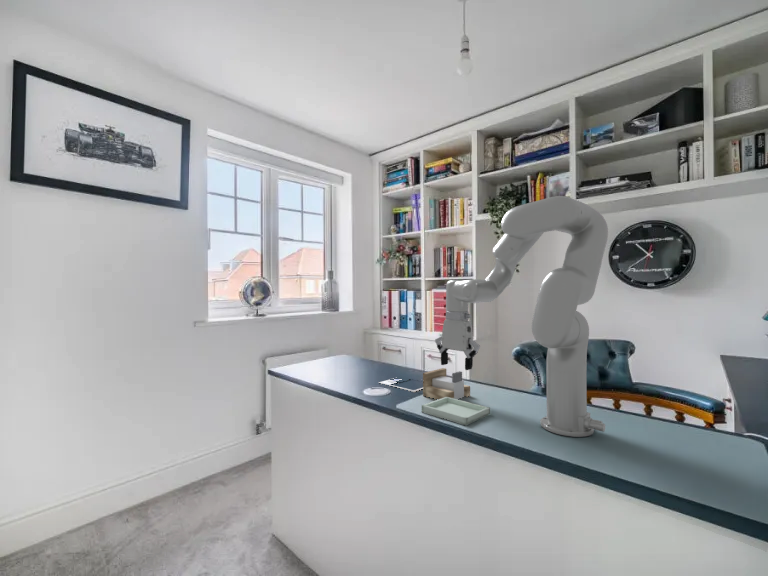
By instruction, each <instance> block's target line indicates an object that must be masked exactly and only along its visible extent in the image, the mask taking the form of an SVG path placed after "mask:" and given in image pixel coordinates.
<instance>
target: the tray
mask: <svg viewBox="0 0 768 576" xmlns="http://www.w3.org/2000/svg"><path fill="white" fill-rule="evenodd" d="M421 413H424V414H426V415H430V416H433V417H437V418H440V419H443V418H444V420H446V419H447V420H448V421H450V422H453V423H457V424H459V425H463V426H468V425H471V424H473V423H475V422H476V421H479V420H481V419H483V418H486V417H488V416H490V415H491V407H488V406H485V405H481V404H477V403H474V402H468V401H465V400H461V399H459V400H458V399H454V398H450V397H444V398H441V399H438V400H436V399H435V400H433V401H430V402H427V403H424V404H421Z"/></svg>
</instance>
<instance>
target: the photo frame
mask: <svg viewBox="0 0 768 576" xmlns="http://www.w3.org/2000/svg"><path fill="white" fill-rule="evenodd" d="M393 379H394V378H393ZM399 380H402V379H394V380H390V379H387V380H383V381H380V382H379V381H378V383H381V384H380V385H382V384H385V385H384V386H386V385H389V386H388V387H390V386H393V387H392V388H394V387H397V388H396V389H398V388H400V389H399V390H402V389H404V390H403V391H406V390H408V391H407V392H410V391H411V393H417V392H420V391H422V390H421V389H423V387H419V388H417V389H409V388H406V387H401V386H397V385H395V384H394V383H397V382H396V381H399ZM391 384H394V385H391ZM419 390H420V391H419ZM416 391H417V392H416Z"/></svg>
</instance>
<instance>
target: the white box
mask: <svg viewBox="0 0 768 576" xmlns="http://www.w3.org/2000/svg"><path fill="white" fill-rule="evenodd" d="M464 385H465V380H464V379H463V371H456V372H452V373H451V377H450V376H446V377H445V376H440V377H437V378H433V379H432V386H433V387H437V388H442V389H446V390H450V391H454V399H459V398H461V399H463V398H462V397H464ZM464 398H465V397H464ZM459 400H460V399H459Z"/></svg>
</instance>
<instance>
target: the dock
mask: <svg viewBox="0 0 768 576" xmlns="http://www.w3.org/2000/svg"><path fill="white" fill-rule="evenodd" d="M440 376H445V377H447V368H446V367H445V368H444V367H442V368H437V369H433V370H430V371H425V372H422V380H423V382H422V388H423V390H422V396H423V397H424V396H426V397H425V398H428V397H430V398H429V399H432V398H434V399H433V400H436V399H441V398H444V397H450V398H454V391H450V390H446V389H442V388H437V387H433V386H432V379H433V378H437V377H440ZM464 396H466V397H465V398H469V397H471V386H470V385H467V384H464ZM468 396H469V397H468Z"/></svg>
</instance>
